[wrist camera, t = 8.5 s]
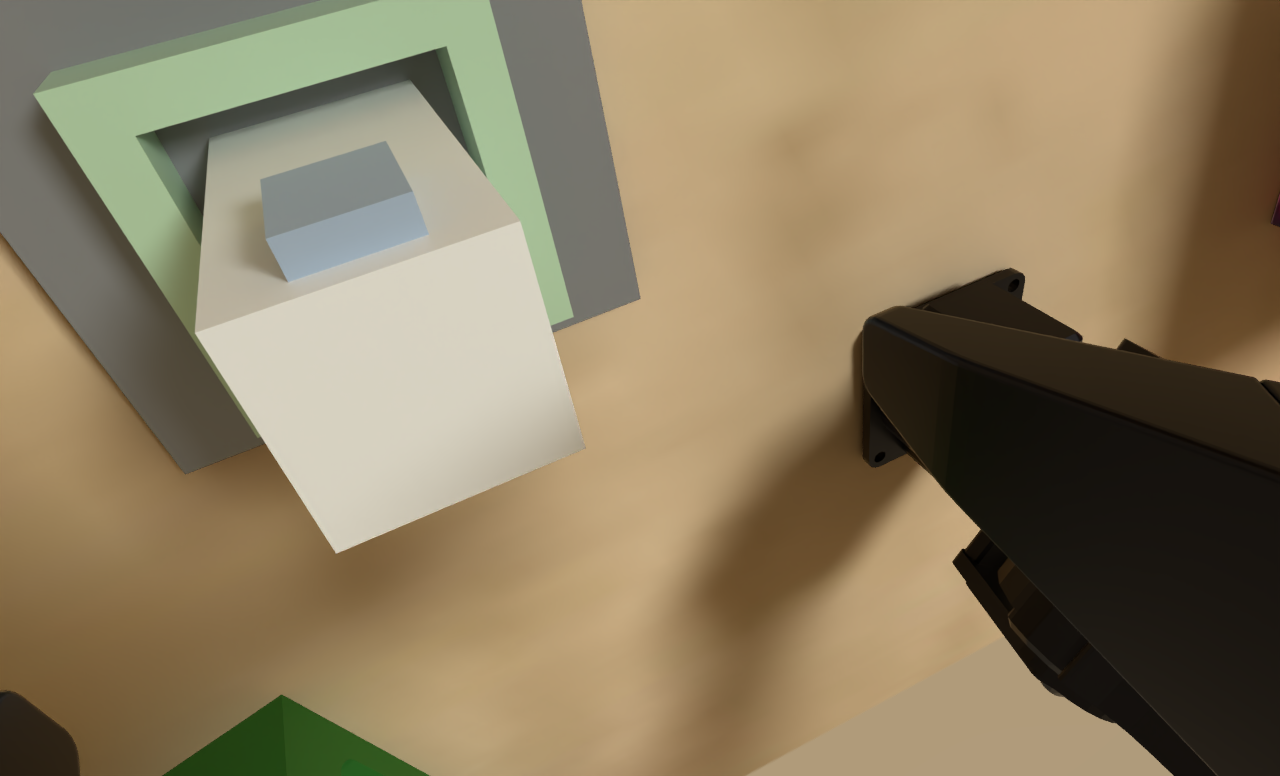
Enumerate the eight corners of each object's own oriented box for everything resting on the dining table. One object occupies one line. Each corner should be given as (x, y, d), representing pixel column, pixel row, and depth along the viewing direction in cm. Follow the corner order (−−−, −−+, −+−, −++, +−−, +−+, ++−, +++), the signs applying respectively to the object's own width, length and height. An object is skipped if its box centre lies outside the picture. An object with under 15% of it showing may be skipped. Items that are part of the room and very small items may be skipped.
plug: (468, 250, 18) (585, 447, 12) (299, 310, 17) (336, 553, 11) (400, 49, 15) (507, 176, 9) (192, 107, 15) (166, 289, 9)
